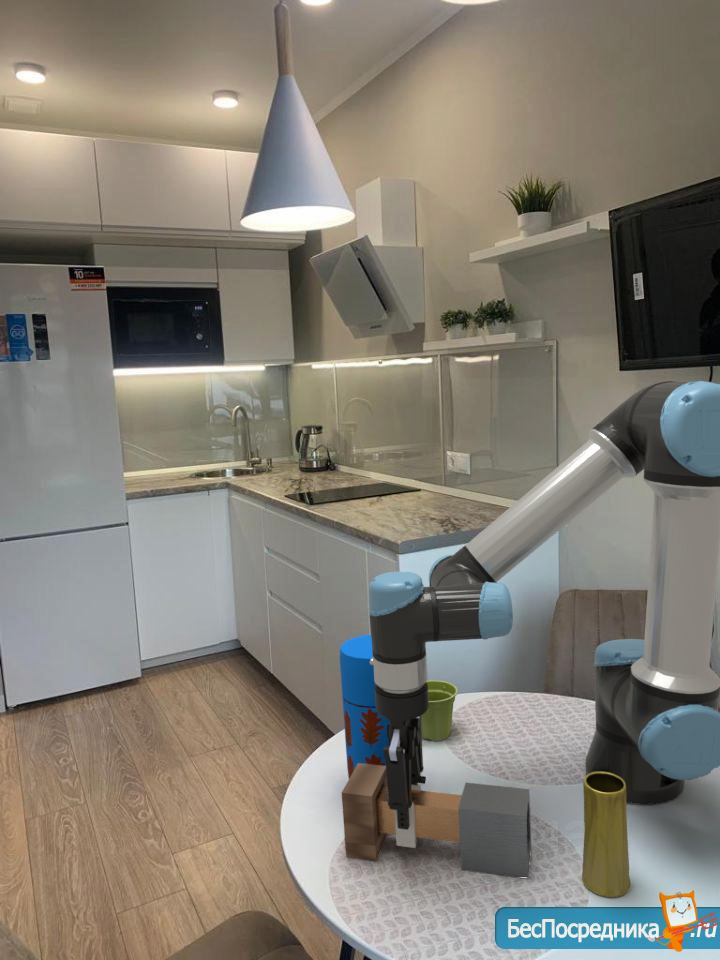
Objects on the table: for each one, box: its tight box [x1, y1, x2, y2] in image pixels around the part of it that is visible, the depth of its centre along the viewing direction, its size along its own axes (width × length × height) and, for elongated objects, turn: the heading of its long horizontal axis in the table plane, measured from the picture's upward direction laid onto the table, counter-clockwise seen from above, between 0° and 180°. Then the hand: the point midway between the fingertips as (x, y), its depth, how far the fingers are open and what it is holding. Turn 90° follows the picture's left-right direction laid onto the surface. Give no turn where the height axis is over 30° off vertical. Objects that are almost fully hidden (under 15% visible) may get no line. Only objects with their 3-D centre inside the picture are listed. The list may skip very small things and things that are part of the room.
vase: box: [581, 771, 632, 898], centre depth 95 cm, size 6×6×14 cm
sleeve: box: [458, 782, 532, 878], centre depth 101 cm, size 9×6×9 cm
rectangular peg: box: [376, 786, 462, 844], centre depth 104 cm, size 18×4×5 cm, turn 73°
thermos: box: [339, 634, 390, 779], centre depth 119 cm, size 11×11×25 cm
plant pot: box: [421, 680, 459, 742], centre depth 137 cm, size 9×9×9 cm
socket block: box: [341, 763, 388, 862], centre depth 107 cm, size 4×8×10 cm, turn 163°
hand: (409, 835), depth 105 cm, fingers closed on rectangular peg, 4 cm apart
